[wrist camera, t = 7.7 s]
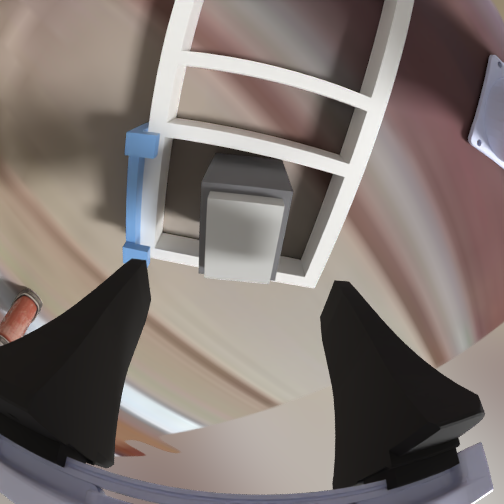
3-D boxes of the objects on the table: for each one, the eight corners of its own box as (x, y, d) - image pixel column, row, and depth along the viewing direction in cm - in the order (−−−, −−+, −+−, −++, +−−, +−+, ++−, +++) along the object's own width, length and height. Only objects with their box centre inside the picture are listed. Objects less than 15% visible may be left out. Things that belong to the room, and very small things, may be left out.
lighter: (28, 325, 27) (-5, 387, 18) (9, 308, 25) (-27, 367, 17) (47, 304, 24) (6, 377, 16) (25, 282, 22) (-22, 353, 14)
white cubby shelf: (400, -2, 10) (429, -13, 7) (309, 270, 21) (318, 304, 18) (196, -56, 8) (184, -81, 5) (141, 238, 20) (123, 268, 17)
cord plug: (281, 160, 17) (295, 198, 12) (269, 231, 19) (275, 290, 14) (215, 152, 16) (198, 188, 11) (210, 225, 19) (196, 282, 14)
